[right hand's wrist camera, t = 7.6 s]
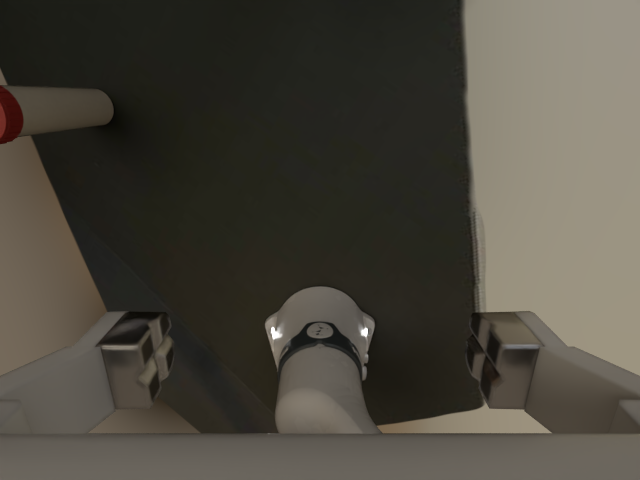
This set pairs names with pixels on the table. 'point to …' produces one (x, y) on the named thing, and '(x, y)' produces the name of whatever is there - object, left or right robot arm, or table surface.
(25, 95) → the jar
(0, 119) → the lid
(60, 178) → the table surface
